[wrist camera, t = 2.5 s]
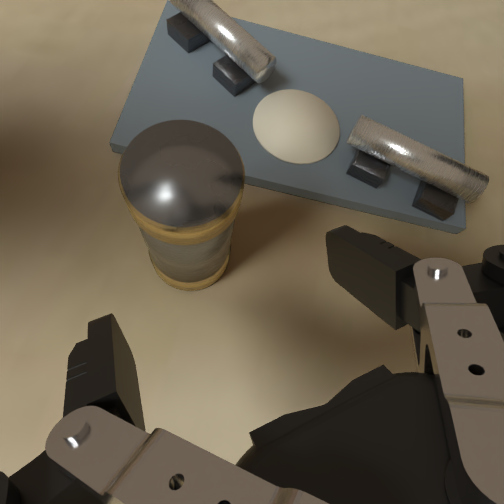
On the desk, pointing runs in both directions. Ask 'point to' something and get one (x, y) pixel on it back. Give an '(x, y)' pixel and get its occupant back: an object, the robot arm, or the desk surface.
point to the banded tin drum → (184, 198)
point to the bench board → (304, 115)
